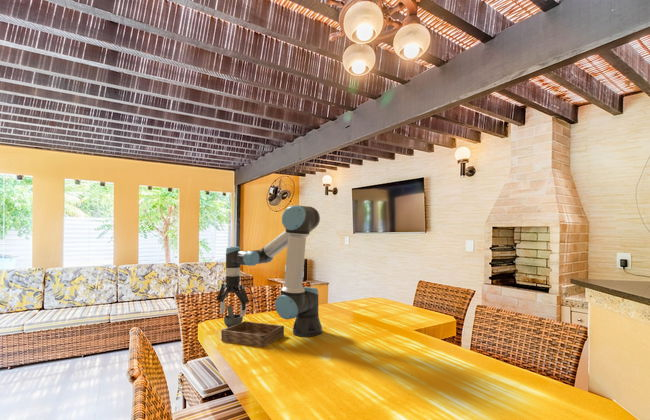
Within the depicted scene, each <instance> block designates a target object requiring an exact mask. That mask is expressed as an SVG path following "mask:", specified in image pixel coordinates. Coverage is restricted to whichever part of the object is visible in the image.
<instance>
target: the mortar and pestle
mask: <svg viewBox="0 0 650 420" xmlns="http://www.w3.org/2000/svg"><path fill="white" fill-rule="evenodd" d="M226 309H227V314H228V315H224V317H223V322H224V325H225V326H226V328H229V327H231V326H234V325H236V324H239V323H242V322H243V319H244V316H243V317H240V313H239V314H237V313H235V314H234V311H233V308H232V305H227V306H226Z"/></svg>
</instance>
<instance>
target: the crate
mask: <svg viewBox="0 0 650 420" xmlns="http://www.w3.org/2000/svg"><path fill="white" fill-rule="evenodd" d="M220 336H221V339H220V340H221V342H226V343H233V344H239V345H246V346H253V347H259V348H264V347H266V346H268V345H270V344H272V343H273V342H276V341H277V340H279V339H282V338H283V337H284V336H285V326H284V325H280V324H279V325H278V324H270V323H263V322H254V321H242V323H239V324H236V325H234V326H231V327H229V328H228V327H226V328H223V329H222V330H221V335H220ZM275 340H276V341H275Z"/></svg>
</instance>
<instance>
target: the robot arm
mask: <svg viewBox="0 0 650 420" xmlns="http://www.w3.org/2000/svg"><path fill="white" fill-rule="evenodd" d="M320 221H321V217H320V212H319V211H318V210H317V208H315V207H312V206H309V205H307V206H306V205H298V204H296V205H290V206H288V207H286V209H285V210H284V211H283V213H282V216H281V223H282V225H283V227H284V231H283V232H281V233H280V234H278V235H277V236H276V237H275V238H274V239H272V240H271V241H270V242H269V243H267V244H266V245H265V246H263V247H262V248H261V249H256V250H242V249H241V246H227V247H226V250H225V282H224V283H221V286H220V289H219V292H218V294H217V296H216V298H215V299H216V301H218V302H219V304H218V305H219V306H218V307H219V309H220V310H219V313H220V315H224V314H225V313H226V311H225V310H226V309H225V308H226V307H225V306H226V301H225V299H226V298H227V297H228V295H229V294H230V293H231V294H235V295H236V298H238V300H239V302H240V307H239V308H240V313H239V314H240V317H243V318H244V317H245V315H246V314H245V313H246V308H247V304H248V303H250V300H249V297H248V294H247V291H246V289H245V285H244V284H240V282H241V276H240V274H241V266H248V267H250V266H251V267H252V266H256V265H259V264H260V265H261V264H267V263H270V262H272V261H273V259H274V257H275V256H276V255H277V254H279V253H280V252H282V251H283V250H284V249H286V260H285V261H286V263H285V273H284V275H285V276H284V285H283V286H282V287H281V288H280V294H279V296H278V297H276V300H275V301H274V308H275V311H276V313H277V314H278V316H279V317H280V318H282V319H284V320H292V319H295V320H294V323H293V326H292V335H295V336H298V337H314V336H319V335H321V334H322V333H323V326H322V324H321V319H320V318H319V317H320V316H319V313H320V311H319V296H320V295H319V290H318V288H317V287H314V286H313V287H311V286H309V287H308V286H303V282H304V281H303V277H304V268H305V267H304V265H305V256H306V255H305V253H306V243H307V242H306V241H307V237H308V236H309V235H310V232H312V231H313V230H315V229H316V228H317V227H318V225H319V224H320Z"/></svg>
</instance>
